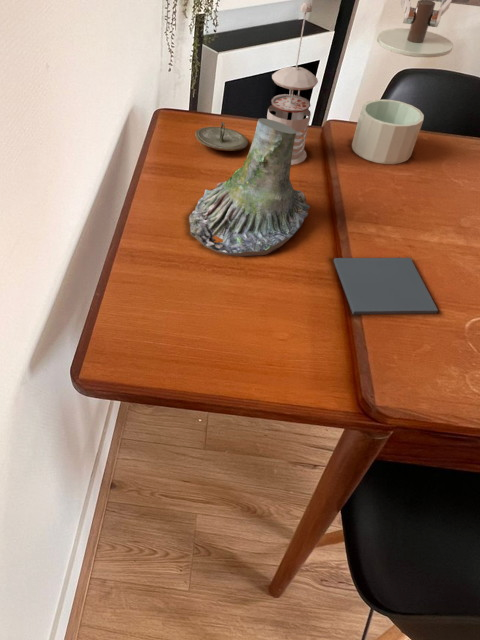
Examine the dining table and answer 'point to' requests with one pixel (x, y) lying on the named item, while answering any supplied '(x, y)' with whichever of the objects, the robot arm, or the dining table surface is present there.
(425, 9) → the basin lid
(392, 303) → the mat
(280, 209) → the tree stump
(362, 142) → the basin
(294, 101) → the french press
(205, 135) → the lid
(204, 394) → the dining table surface
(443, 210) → the dining table surface
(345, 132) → the dining table surface
